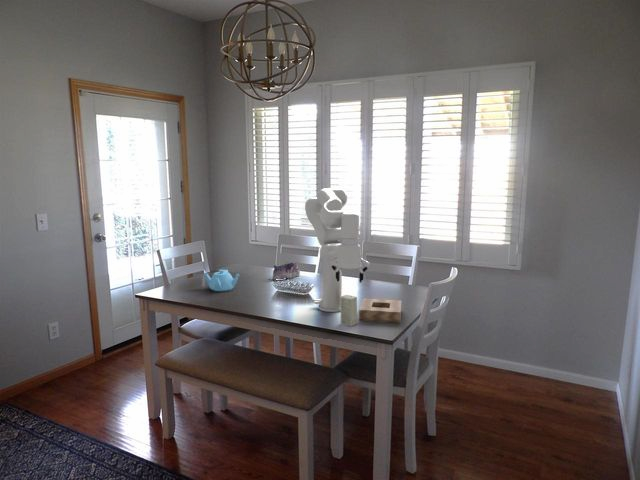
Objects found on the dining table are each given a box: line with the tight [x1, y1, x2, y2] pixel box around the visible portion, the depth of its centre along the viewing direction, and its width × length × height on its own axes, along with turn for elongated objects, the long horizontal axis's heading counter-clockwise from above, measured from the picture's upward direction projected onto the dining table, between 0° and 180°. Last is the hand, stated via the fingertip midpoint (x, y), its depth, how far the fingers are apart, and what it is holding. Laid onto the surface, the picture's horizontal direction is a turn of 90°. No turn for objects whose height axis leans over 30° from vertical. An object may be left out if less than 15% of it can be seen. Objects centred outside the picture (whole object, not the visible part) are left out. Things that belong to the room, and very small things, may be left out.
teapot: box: [203, 269, 240, 292], centre depth 254 cm, size 15×15×11 cm
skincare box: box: [340, 294, 358, 327], centre depth 198 cm, size 6×4×12 cm
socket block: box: [358, 298, 402, 324], centre depth 209 cm, size 18×18×5 cm
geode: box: [272, 262, 301, 281], centre depth 281 cm, size 20×12×10 cm, turn 146°
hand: (349, 281), depth 196 cm, fingers open, 9 cm apart
